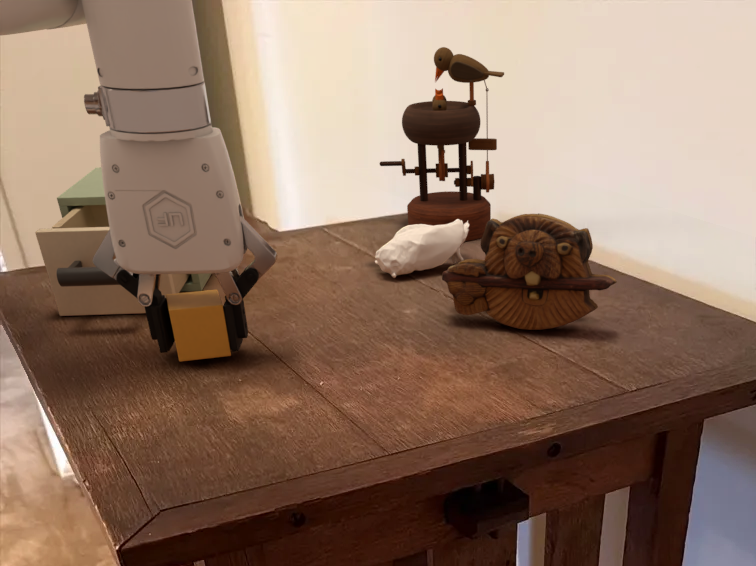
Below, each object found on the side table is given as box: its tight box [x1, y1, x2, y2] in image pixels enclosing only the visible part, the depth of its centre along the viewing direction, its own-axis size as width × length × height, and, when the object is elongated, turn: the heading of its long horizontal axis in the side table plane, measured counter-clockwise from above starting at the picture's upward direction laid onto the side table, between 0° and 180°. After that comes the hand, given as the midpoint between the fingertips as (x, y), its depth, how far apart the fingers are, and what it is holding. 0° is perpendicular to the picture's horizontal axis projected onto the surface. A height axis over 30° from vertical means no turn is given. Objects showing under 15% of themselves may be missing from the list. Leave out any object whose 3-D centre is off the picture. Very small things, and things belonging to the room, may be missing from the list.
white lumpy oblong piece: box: [374, 219, 469, 279], centre depth 101 cm, size 5×7×10 cm
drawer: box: [34, 205, 190, 317], centre depth 91 cm, size 18×11×8 cm, turn 3°
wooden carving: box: [441, 213, 618, 331], centre depth 85 cm, size 16×5×10 cm, turn 77°
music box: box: [379, 46, 505, 242], centre depth 110 cm, size 15×11×20 cm
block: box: [166, 289, 232, 362], centre depth 79 cm, size 4×4×4 cm
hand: (202, 344), depth 80 cm, fingers closed on block, 5 cm apart
